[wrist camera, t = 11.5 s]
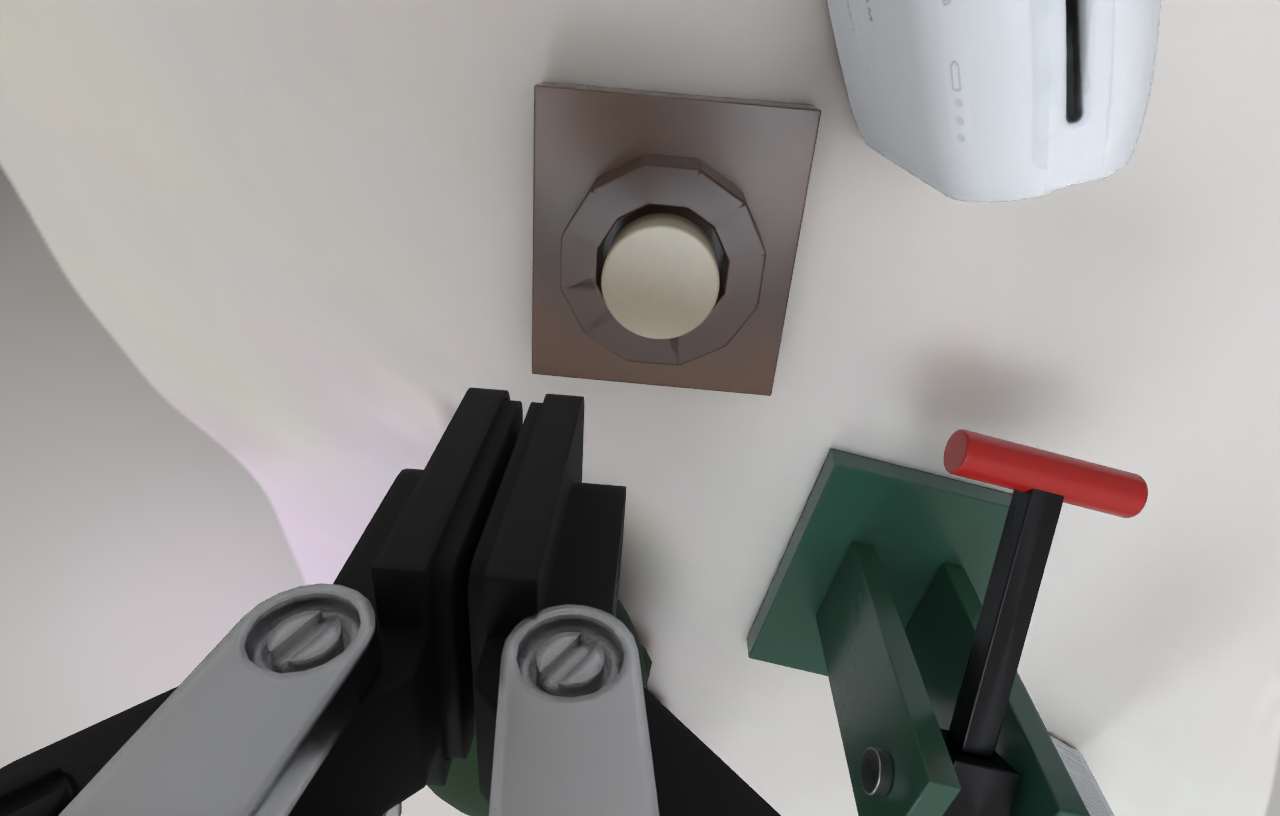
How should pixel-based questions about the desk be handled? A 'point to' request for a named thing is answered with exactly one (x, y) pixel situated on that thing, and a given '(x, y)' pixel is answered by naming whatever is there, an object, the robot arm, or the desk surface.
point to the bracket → (901, 632)
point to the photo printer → (999, 88)
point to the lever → (1014, 595)
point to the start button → (660, 276)
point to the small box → (1083, 780)
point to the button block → (678, 184)
